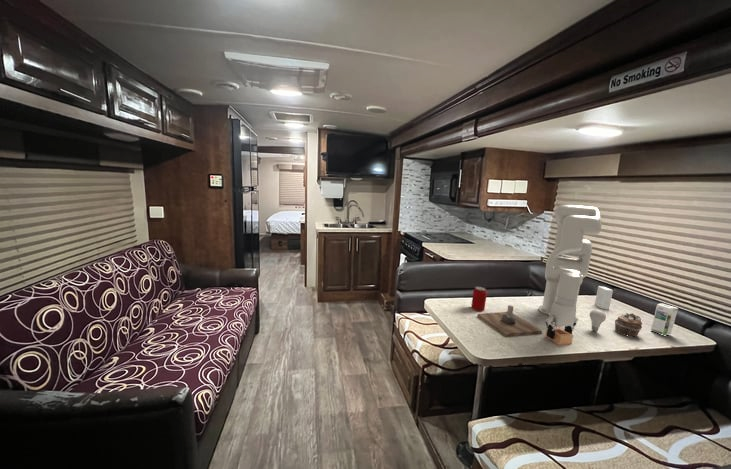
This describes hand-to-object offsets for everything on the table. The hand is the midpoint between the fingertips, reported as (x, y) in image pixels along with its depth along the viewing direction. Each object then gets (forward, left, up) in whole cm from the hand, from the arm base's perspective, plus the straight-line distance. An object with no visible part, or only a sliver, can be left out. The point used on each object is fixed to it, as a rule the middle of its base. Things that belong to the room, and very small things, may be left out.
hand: (558, 336), depth 127 cm
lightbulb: (-27, -4, -2) cm, 27 cm away
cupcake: (-42, 0, -2) cm, 42 cm away
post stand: (+13, -16, -2) cm, 21 cm away
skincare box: (-64, -27, -2) cm, 69 cm away
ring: (0, 0, -2) cm, 2 cm away
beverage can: (+17, -34, -2) cm, 38 cm away
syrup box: (-61, +3, -2) cm, 61 cm away
